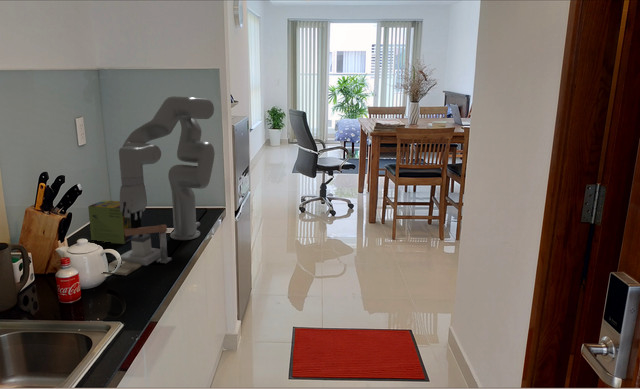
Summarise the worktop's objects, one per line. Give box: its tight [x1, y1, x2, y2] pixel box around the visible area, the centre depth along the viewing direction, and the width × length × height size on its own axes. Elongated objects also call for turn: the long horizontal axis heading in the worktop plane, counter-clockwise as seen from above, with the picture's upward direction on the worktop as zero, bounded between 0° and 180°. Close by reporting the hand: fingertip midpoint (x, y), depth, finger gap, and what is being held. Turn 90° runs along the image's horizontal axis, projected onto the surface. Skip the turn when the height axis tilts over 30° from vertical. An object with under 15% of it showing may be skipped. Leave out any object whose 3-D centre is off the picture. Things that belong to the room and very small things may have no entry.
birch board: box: [108, 259, 142, 276], centre depth 173 cm, size 9×11×1 cm
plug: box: [130, 233, 153, 257], centre depth 182 cm, size 5×5×11 cm
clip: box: [124, 224, 168, 236], centre depth 175 cm, size 3×15×2 cm, turn 117°
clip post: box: [155, 231, 173, 264], centre depth 179 cm, size 4×4×12 cm
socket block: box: [120, 247, 161, 266], centre depth 183 cm, size 12×12×2 cm
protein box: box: [88, 199, 135, 245], centre depth 201 cm, size 10×15×16 cm
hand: (136, 229), depth 176 cm, fingers closed
